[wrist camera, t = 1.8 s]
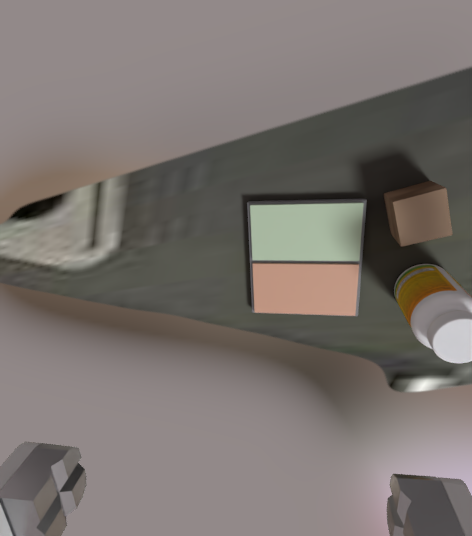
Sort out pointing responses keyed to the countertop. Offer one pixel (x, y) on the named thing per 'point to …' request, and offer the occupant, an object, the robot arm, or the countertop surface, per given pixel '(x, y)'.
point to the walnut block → (418, 213)
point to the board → (306, 256)
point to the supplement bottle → (437, 311)
